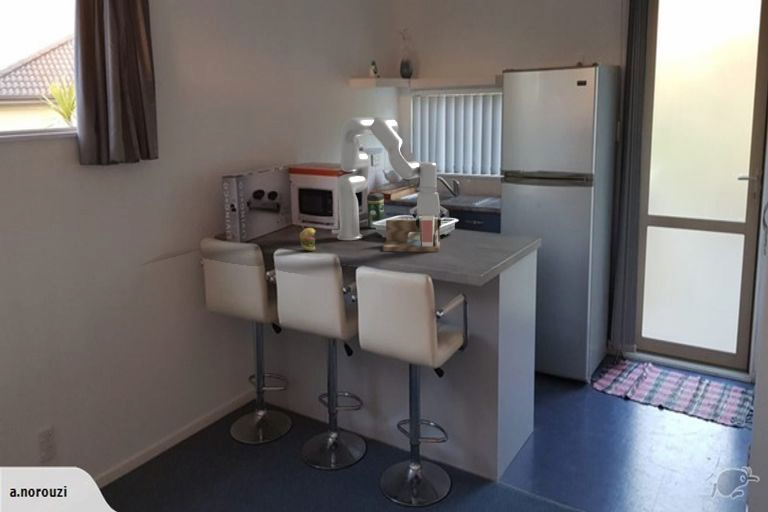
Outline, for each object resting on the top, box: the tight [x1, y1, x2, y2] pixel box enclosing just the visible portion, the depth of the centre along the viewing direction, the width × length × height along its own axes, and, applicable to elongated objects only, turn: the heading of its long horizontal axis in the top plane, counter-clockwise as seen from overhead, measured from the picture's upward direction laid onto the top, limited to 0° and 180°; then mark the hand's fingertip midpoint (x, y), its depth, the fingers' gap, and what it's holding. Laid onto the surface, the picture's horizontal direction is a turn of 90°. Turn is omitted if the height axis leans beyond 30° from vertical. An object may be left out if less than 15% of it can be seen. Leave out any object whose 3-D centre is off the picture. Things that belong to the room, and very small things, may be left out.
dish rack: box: [372, 215, 459, 238], centre depth 325 cm, size 32×37×8 cm
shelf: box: [382, 220, 441, 253], centre depth 297 cm, size 25×13×12 cm, turn 82°
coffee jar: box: [366, 192, 385, 230], centre depth 346 cm, size 10×8×19 cm
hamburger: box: [299, 225, 316, 252], centre depth 296 cm, size 8×7×12 cm
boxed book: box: [422, 215, 435, 247], centre depth 295 cm, size 5×9×14 cm, turn 172°
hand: (428, 227), depth 295 cm, fingers open, 8 cm apart
